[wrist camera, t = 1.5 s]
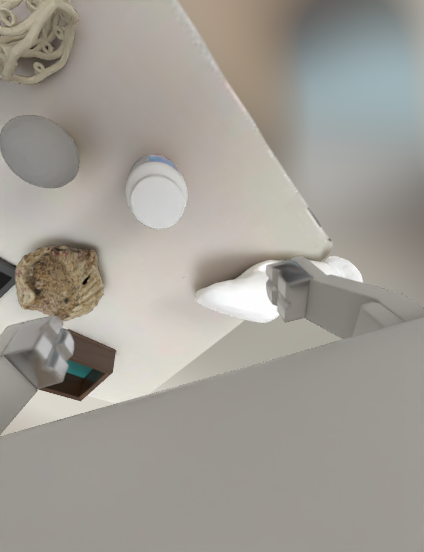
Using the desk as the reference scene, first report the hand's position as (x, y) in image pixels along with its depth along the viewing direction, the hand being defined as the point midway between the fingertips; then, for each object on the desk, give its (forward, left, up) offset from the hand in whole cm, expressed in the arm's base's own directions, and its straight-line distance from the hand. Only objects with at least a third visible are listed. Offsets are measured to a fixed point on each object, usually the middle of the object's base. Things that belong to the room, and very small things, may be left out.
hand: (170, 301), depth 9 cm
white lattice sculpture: (-13, -7, -25) cm, 29 cm away
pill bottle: (0, 0, -25) cm, 25 cm away
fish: (+24, +12, -16) cm, 31 cm away
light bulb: (-5, -9, -25) cm, 27 cm away
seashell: (+10, -15, -25) cm, 31 cm away
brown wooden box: (+26, -21, -25) cm, 42 cm away
